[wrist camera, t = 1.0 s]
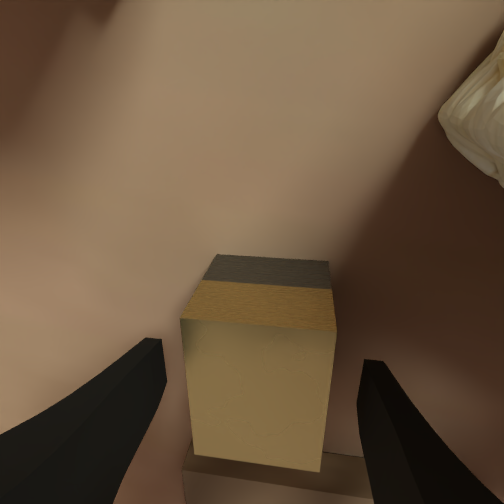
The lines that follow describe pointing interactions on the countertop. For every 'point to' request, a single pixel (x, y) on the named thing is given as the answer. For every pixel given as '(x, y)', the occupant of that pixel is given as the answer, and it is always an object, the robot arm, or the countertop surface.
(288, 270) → the block
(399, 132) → the countertop surface
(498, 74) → the storage basket
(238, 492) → the walnut stand
